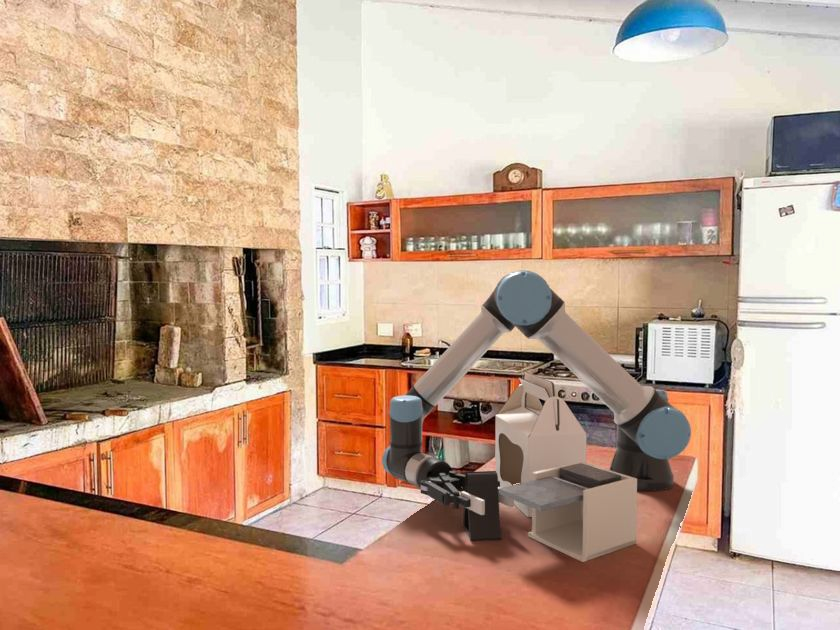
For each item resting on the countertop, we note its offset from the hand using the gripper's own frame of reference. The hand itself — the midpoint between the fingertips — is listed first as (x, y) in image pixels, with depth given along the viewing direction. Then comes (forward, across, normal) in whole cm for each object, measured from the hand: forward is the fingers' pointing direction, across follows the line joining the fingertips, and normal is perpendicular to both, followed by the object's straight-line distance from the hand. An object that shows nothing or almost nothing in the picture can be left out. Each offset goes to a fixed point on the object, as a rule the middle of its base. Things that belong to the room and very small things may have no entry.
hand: (498, 503), depth 126 cm
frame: (+9, -13, -7) cm, 18 cm away
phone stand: (-5, 0, -7) cm, 9 cm away
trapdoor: (+9, -8, +2) cm, 12 cm away
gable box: (-13, -23, -7) cm, 27 cm away
